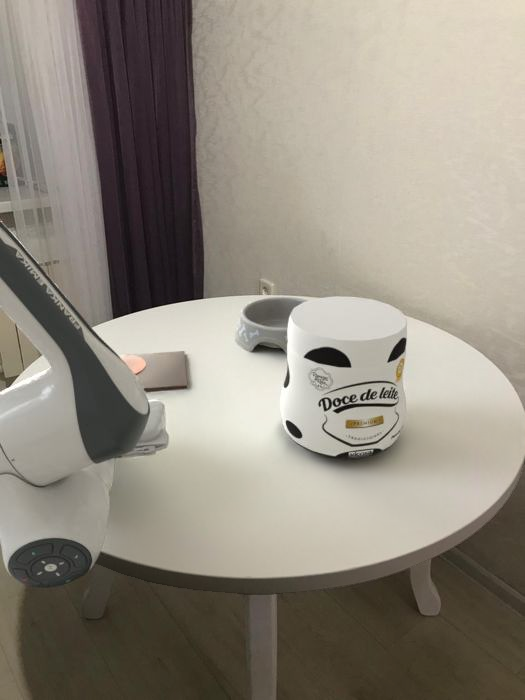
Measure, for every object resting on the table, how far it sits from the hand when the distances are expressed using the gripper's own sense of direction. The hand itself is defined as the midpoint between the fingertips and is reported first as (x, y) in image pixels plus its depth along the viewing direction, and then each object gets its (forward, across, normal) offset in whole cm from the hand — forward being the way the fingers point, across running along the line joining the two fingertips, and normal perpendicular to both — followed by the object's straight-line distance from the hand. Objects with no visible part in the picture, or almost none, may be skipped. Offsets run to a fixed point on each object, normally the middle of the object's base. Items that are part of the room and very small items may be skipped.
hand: (87, 397), depth 78 cm
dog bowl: (+32, -32, +8) cm, 46 cm away
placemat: (+21, -3, +8) cm, 23 cm away
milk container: (-2, -34, +8) cm, 35 cm away
